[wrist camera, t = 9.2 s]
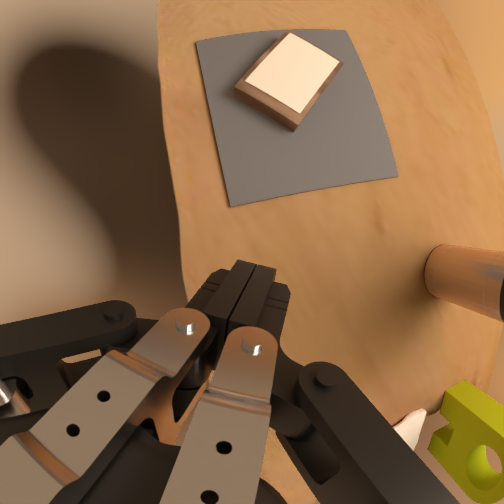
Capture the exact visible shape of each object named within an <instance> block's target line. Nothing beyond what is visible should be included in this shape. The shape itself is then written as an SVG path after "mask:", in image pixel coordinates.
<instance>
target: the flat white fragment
mask: <svg viewBox="0 0 504 504" xmlns="http://www.w3.org/2000/svg"><path fill="white" fill-rule="evenodd" d="M425 416H426V411H425V410H424V409H422V408H421V409H419V410H415V411H413V412H411V413H409V414H408V415H406V416H405V417H404V419H403V420H402V421H401V422H400V423H398V424H397V425H395V426H393V428H394V429H395V431H396V432H397V433H398V434H399V435H400V436H401V437H402V439H403V440H404V441H405V442H406V443H407V444H408V445H409V447H410V448H411V449H412V450H413V451H414V449H415V447H416V444H417V442H418V439H419V435H420V431H421V428H422V425H423V422H424V419H425Z"/></svg>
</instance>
